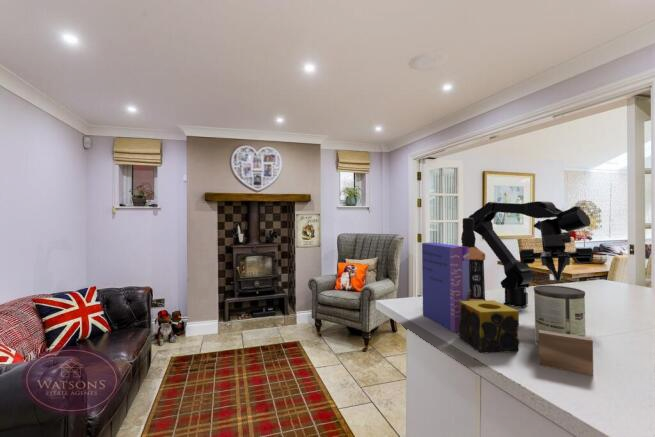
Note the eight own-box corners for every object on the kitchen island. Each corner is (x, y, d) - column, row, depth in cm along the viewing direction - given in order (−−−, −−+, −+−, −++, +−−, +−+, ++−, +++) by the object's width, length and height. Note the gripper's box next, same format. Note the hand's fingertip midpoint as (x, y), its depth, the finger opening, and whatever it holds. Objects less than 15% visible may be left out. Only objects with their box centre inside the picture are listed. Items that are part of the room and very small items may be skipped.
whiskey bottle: (487, 312, 107) (486, 217, 107) (456, 310, 110) (455, 218, 110) (481, 304, 117) (480, 217, 117) (452, 303, 120) (451, 218, 120)
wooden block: (538, 351, 75) (538, 322, 75) (587, 360, 70) (586, 329, 71) (539, 365, 69) (538, 332, 69) (593, 375, 64) (592, 340, 64)
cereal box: (469, 331, 89) (468, 246, 89) (454, 333, 88) (453, 246, 88) (435, 314, 106) (435, 242, 106) (422, 315, 105) (422, 242, 105)
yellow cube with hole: (458, 338, 85) (457, 300, 85) (494, 336, 86) (493, 299, 86) (479, 354, 75) (479, 311, 75) (520, 352, 75) (519, 310, 76)
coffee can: (541, 335, 86) (540, 283, 86) (589, 346, 78) (589, 289, 78) (528, 346, 79) (528, 289, 79) (581, 359, 71) (580, 296, 71)
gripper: (516, 226, 104) (519, 270, 96) (589, 220, 94) (600, 269, 86) (519, 242, 111) (523, 284, 104) (587, 238, 101) (597, 285, 94)
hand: (558, 280), depth 97 cm, fingers closed
